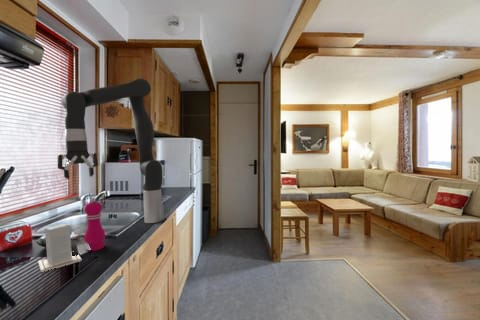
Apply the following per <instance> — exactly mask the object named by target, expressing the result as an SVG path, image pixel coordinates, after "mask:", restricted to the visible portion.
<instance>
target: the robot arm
mask: <svg viewBox="0 0 480 320" xmlns="http://www.w3.org/2000/svg"><path fill="white" fill-rule="evenodd" d="M151 86H152V85H150V83H149V82H148V81H147V80H146V79H144V78H136V79H134V80H131V81H129V82H126V83H122V84H117V85H111V86H105V87H97V88H92V89H88V90H85V91H80V92H78V91H70V92H68V93H65V94H64V95H63V96H62V97H61V100H60V103H61V105H62V107H63V108H64V109H66V115H65V118H64V125H65V126H64V127H65V129H64V130H65V134H64V135H65V146H66V148H65V149H66V153H65V154H60V153H59V154H58V155H57V169H59V170H62V171H63V177H64V178H65V179H66V180H70V171H69V169H70V167H71V166H72V165H73V164H74V165H77V164H85V165H86V166H88V173H89V177H93V176H94V175H95V172H94V171H95V170H94V168H96V167H98V166H99V163H98V157H97V153H96V152H92V153H91V152H90V153H89V149H88V148H89V147H88V137H87V132H86V123H85V115H86V108H89V107H93V106H99V105H103V104H108V103H111V102H115V101H118V100H122V99H126V98H128V99H129V103H130V107H131V112H132V113H131V114H132V119H133V127H134V133H135V138H136V143H137V145H136V146H137V149H138V157H139V170H140V173H141V175H143V176H144V177H145V178H144V179H145V181H144V183H143V185H142V195H143V217H144V218H143V219H144V221H143V222H144V224H145V223H146V224H154V223H160V222H162V221H165V219H164V218H165V215H164V213H165V211H164V203H163V202H162V200H163V199H162V185H163V166H162V163H161V162H160V161H158V160H156V159H154V154H153V145H154V141H155V140H154V139H155V130H154V123H153V121H152V119H151V117H150V115H149V114H148V112H147V109H146V106H145V101H144V98H145V97H147V96H148V95H150V93H151V90H152V87H151ZM89 157H90V158H91V159H92V163H91V161H89V160H88V158H89ZM65 159H67V160H68V161H67V162H66V164H65V165H63V160H65Z"/></svg>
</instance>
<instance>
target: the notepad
mask: <svg viewBox="0 0 480 320" xmlns="http://www.w3.org/2000/svg"><path fill="white" fill-rule="evenodd" d="M82 260H83V259H82V257H81V256H80V255H79V254H78V255H77V256H76V255H75V256H72V258H69V259H67V260H64V261H61V262H58V263H56V264H53V265H52V264H50V263H48V262H47V258H44V259H39V260H37V262H38V267H39V270H40V273H41V272H42V273H45V272H49V271H52V270H55V269H54V268H56V269H58V268H62V267H65V265H66V266H69V265H73V264H75V263H76V264H77V263H79V262H82ZM51 269H52V270H51ZM48 270H49V271H48ZM44 271H45V272H44Z"/></svg>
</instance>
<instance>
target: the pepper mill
mask: <svg viewBox="0 0 480 320" xmlns="http://www.w3.org/2000/svg"><path fill="white" fill-rule="evenodd" d="M102 210H103V204H101V203H100V202H98V201H96V198H94V197H91V198H90V202H88V203H87V204H86V205H85V206H84V213H85V214H86V216H85V217H86V220H87V228H86V230H85V232H84V236H83V240H84V241H83V242H85V243H86V245H87V244H89V246H90V248H91V250H92V251H91V252H94V251H99V250H102V249H103V248H104V247H105V241H104V240H105V238H106V232H105V230H104V228H103V227H102V224H101V218H102V213H101V212H102Z"/></svg>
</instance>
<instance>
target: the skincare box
mask: <svg viewBox="0 0 480 320" xmlns="http://www.w3.org/2000/svg"><path fill="white" fill-rule="evenodd" d="M44 234H45V235H44V237H45V246H46V248H45V249H46V259H47V262H48V263H50V264H52V265H53V264H56V263H58V262H61V261H64V260H67V259H69V258H72V252H73V250H72V239H71V226H70V224H68V223H67V224H66V223H60V224H56V225H51V226H48V227H45V228H44Z"/></svg>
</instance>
